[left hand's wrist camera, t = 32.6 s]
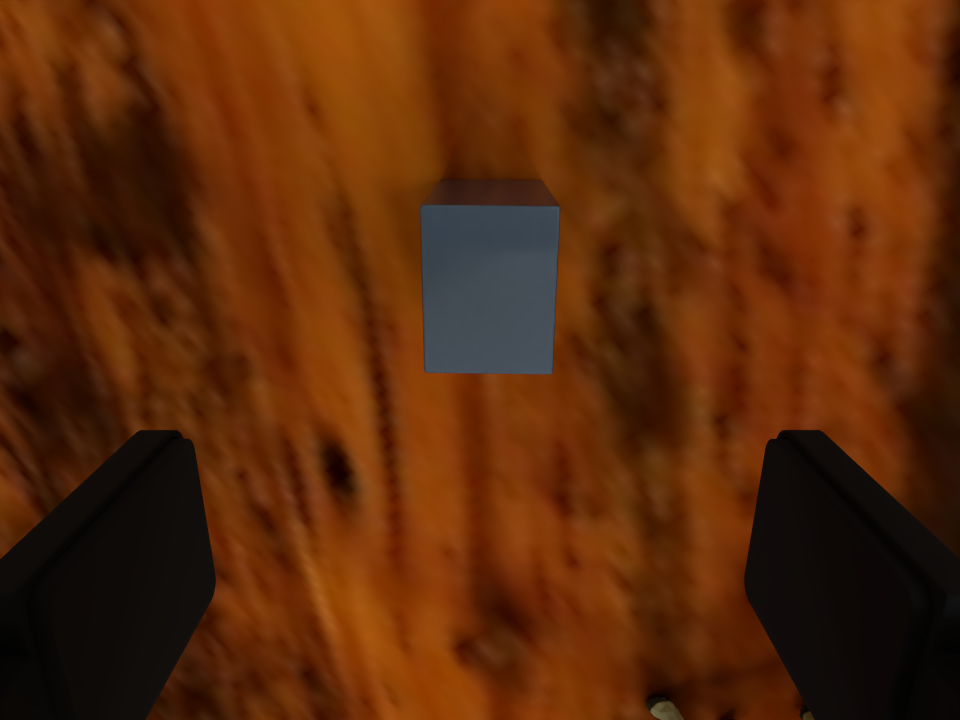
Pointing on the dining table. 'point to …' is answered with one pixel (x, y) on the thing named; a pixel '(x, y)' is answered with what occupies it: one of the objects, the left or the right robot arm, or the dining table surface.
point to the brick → (489, 276)
